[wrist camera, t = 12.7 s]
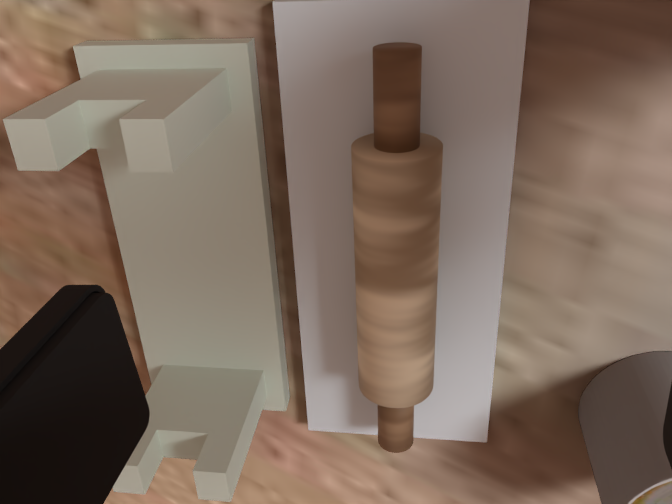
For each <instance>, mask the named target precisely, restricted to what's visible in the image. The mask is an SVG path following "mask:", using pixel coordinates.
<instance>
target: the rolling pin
mask: <svg viewBox="0 0 672 504" xmlns="http://www.w3.org/2000/svg"><path fill="white" fill-rule="evenodd" d="M421 67H422V46H421V45H419V44H416V43H407V42H394V43H384V44H379V45H376V46H374V47H373V118H374V133H372V134H368V135H365V136H362V137H360V138H358V139H356V140H355V141H354V142H353V143H352V145H351V160H352V191H353V222H354V254H355V285H356V316H357V348H358V379H359V388H360V390H361V392H362V394H363V395H364V396H365V397H366V398H367V399H368V400H370V401H371V402H373V403H375V404H378V442H379V444H380V446H381V447H382V448H383V449H385V450H387V451H389V452H394V453H399V452H403V451H406V450H408V449H409V448H410V447H411V446H412V444H413V431H414V405H417V404H419V403H421V402H422V401H424V400H425V399H426V398H427V397H428V396H429V395H430V394H431V392H432V390H433V382H434V358H435V333H436V308H437V283H438V258H439V233H440V208H441V184H442V159H443V143H442V142H441V141H440V140H439V139H438V138H436V137H434V136H431V135H428V134H425V133H420V112H421Z"/></svg>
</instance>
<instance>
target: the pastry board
mask: <svg viewBox="0 0 672 504" xmlns="http://www.w3.org/2000/svg"><path fill="white" fill-rule="evenodd" d="M272 3H273V14H274V26H275V38H276V50H277V62H278V74H279V86H280V98H281V110H282V122H283V133H284V145H285V157H286V169H287V181H288V193H289V205H290V217H291V229H292V240H293V252H294V264H295V276H296V288H297V300H298V312H299V324H300V336H301V348H302V359H303V371H304V383H305V395H306V407H307V419H308V430H313V431H328V432H342V433H357V434H371V435H378V404H375V403H373V402H371V401H370V400H368V399H367V398H366V397H365V396H364V395H363V394H362V392H361V390H360V388H359V379H358V348H357V316H356V285H355V254H354V222H353V191H352V160H351V145H352V143H353V142H354V141H355V140H356V139H358V138H360V137H362V136H365V135H368V134H372V133H374V118H373V47H374V46H376V45H379V44H384V43H394V42H407V43H416V44H419V45H421V46H422V67H421V112H420V133H425V134H428V135H431V136H434V137H436V138H438V139H439V140H440V141H441V142H442V143H443V159H442V184H441V208H440V233H439V258H438V283H437V308H436V333H435V358H434V382H433V390H432V392H431V394H430V395H429V396H428V397H427V398H426V399H425V400H424V401H422V402H421V403H419V404H417V405H414V431H413V437H414V438H428V439H443V440H457V441H471V442H486V443H487V435H488V425H489V415H490V405H491V394H492V384H493V374H494V363H495V353H496V343H497V333H498V322H499V312H500V302H501V291H502V281H503V271H504V261H505V250H506V240H507V230H508V220H509V209H510V199H511V189H512V178H513V168H514V158H515V148H516V137H517V127H518V117H519V106H520V96H521V86H522V76H523V65H524V55H525V45H526V35H527V24H528V14H529V4H530V0H275V1H273V2H272Z"/></svg>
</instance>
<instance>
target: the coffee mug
mask: <svg viewBox="0 0 672 504" xmlns="http://www.w3.org/2000/svg"><path fill="white" fill-rule="evenodd" d="M671 382H672V352H649V353H643V354H638V355H634V356H630V357H628V358H625V359H623V360H620V361H617V362H616V363H614V364H612V365H610V366H608V367H607V368H606V369H604V370H603V371H601V372H600V373H599V374H598V375H597V376H595V377H594V378H593V380H592V381H591V382H590V383H589V384H588V386H587V387H586V389H585V390H584V392H583V394H582V396H581V399H580V403H579V409H578V417H579V422H580V426H581V429H582V433H583V437H584V440H585V444H586V448H587V451H588V455H589V459H590V462H591V466H592V470H593V473H594V477H595V481H596V485H597V488H598V492H599V496H600V499H601V503H602V504H672V469H671V466H670V463H669V461H668V458H667V455H666V452H665V449H664V443H663V425H664V420H665V415H666V409H667V404H668V398H669V393H670V388H671Z"/></svg>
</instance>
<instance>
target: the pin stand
mask: <svg viewBox="0 0 672 504" xmlns="http://www.w3.org/2000/svg"><path fill="white" fill-rule="evenodd" d="M73 49H74V53H75V58H76V62H77V66H78V71H79V75H80V80H78V81H77V82H75V83H73V84H71V85H69V86H67V87H65V88H63V89H61V90H59V91H57V92H55V93H53V94H51V95H49V96H47V97H45V98H43V99H41V100H39V101H37V102H35V103H33V104H31V105H29V106H28V107H26V108H24V109H22V110H20V111H18V112H16V113H14V114H12V115H10V116H8V117H6V118H4V119H3V122H4V125H5V129H6V132H7V135H8V139H9V142H10V145H11V149H12V152H13V155H14V159H15V162H16V165H17V169H18V171H60V170H61V169H63V168H64V167H65V166H67V165H68V164H69V163H71V162H72V161H74V160H75V159H76V158H78V157H79V156H80V155H82V154H83V153H85V152H86V151H87V150H89V149H97V152H98V157H99V161H100V165H101V170H102V174H103V178H104V183H105V187H106V191H107V196H108V200H109V204H110V208H111V213H112V217H113V221H114V226H115V230H116V234H117V239H118V243H119V247H120V252H121V256H122V260H123V264H124V269H125V273H126V277H127V282H128V286H129V290H130V295H131V299H132V303H133V308H134V312H135V316H136V321H137V325H138V329H139V333H140V338H141V342H142V346H143V351H144V355H145V359H146V364H147V368H148V372H149V377H150V381H151V387H150V389H149V391H148V392H147V394H146V396H145V397H146V400H147V403H148V406H149V411H150V417H149V423H148V426H147V428H146V431H145V432H144V434H143V436H142V437H141V439H140V441H139V443H138V444H137V446H136V448H135V450H134V451H133V453H132V455H131V456H130V458H129V460H128V462H127V463H126V465H125V467H124V469H123V470H122V472H121V474H120V475H119V477H118V479H117V481H116V482H115V484H114V486H113V490H114V492H122V493H133V494H146V492H147V489H148V487H149V485H150V483H151V481H152V479H153V477H154V475H155V473H156V471H157V469H158V467H159V465H160V463H161V461H162V459H163V457H168V458H181V459H194V460H197V462H196V464H195V466H194V469H193V475H194V479H195V484H196V489H197V494H198V499H202V500H214V501H225V502H231V500H232V497H233V494H234V491H235V488H236V485H237V482H238V479H239V476H240V474H241V471H242V468H243V465H244V462H245V459H246V456H247V453H248V450H249V447H250V444H251V441H252V438H253V435H254V433H255V430H256V427H257V424H258V421H259V418H260V415H261V412H262V410H273V411H286V409H287V406H288V402H289V399H290V393H289V383H288V373H287V363H286V353H285V343H284V333H283V323H282V313H281V303H280V293H279V283H278V273H277V263H276V253H275V243H274V233H273V223H272V213H271V203H270V192H269V182H268V172H267V162H266V152H265V142H264V132H263V122H262V112H261V102H260V92H259V82H258V72H257V62H256V52H255V42H254V38H220V39H164V40H109V41H84V42H82V43H79V44H77V45H74V46H73Z"/></svg>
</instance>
